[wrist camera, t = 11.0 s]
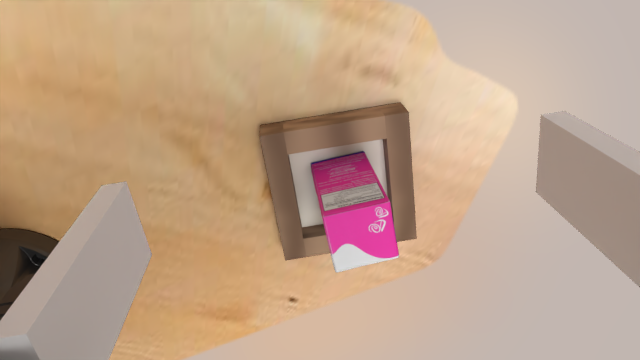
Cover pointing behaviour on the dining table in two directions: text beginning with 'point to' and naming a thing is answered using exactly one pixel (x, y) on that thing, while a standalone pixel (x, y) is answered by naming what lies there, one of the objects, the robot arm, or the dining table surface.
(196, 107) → the dining table surface
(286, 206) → the socket block
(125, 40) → the dining table surface
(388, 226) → the supplement box
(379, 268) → the dining table surface
